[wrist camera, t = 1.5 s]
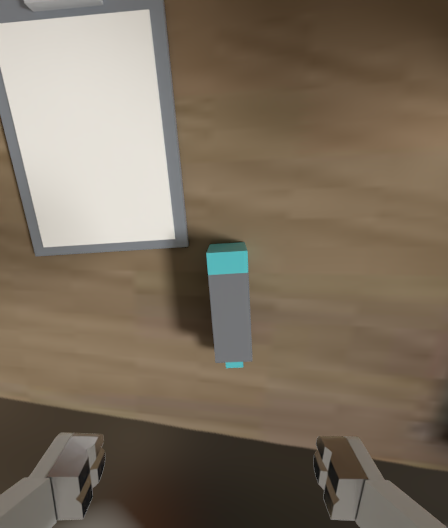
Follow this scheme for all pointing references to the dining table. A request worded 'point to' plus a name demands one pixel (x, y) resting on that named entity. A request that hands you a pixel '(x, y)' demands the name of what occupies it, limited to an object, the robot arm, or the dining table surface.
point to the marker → (230, 303)
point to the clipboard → (92, 124)
